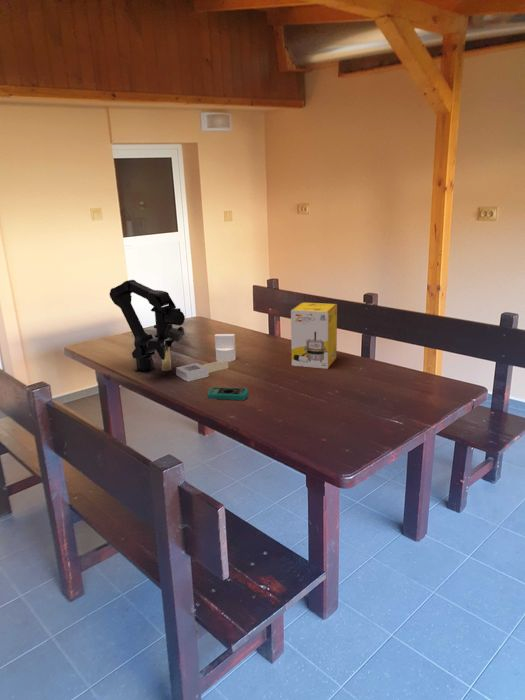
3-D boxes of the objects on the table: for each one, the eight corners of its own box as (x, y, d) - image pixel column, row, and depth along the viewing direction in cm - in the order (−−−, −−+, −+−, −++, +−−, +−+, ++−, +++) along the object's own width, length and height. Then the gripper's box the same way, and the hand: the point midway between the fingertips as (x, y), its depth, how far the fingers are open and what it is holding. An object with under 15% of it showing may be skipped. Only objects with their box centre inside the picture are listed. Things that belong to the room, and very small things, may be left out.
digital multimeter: (245, 401, 200) (245, 394, 199) (206, 400, 203) (206, 393, 202) (249, 394, 207) (248, 387, 206) (211, 393, 209) (211, 386, 209)
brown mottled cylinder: (160, 370, 229) (158, 347, 226) (164, 367, 232) (162, 345, 229) (168, 371, 227) (166, 348, 224) (173, 368, 231) (171, 345, 228)
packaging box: (291, 365, 237) (290, 310, 230) (302, 354, 252) (301, 302, 245) (327, 368, 232) (327, 312, 224) (336, 357, 246) (337, 304, 239)
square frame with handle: (176, 375, 228) (175, 367, 227) (221, 364, 240) (221, 357, 239) (187, 381, 220) (186, 373, 219) (233, 370, 232) (232, 362, 231)
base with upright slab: (237, 357, 252) (235, 332, 248) (234, 363, 243) (232, 337, 240) (218, 357, 253) (216, 332, 249) (214, 363, 244) (213, 337, 240)
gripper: (169, 329, 213) (172, 366, 217) (190, 318, 230) (192, 353, 234) (144, 327, 216) (148, 364, 221) (166, 316, 233) (169, 351, 238)
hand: (165, 358), depth 228 cm, fingers closed on brown mottled cylinder, 4 cm apart
